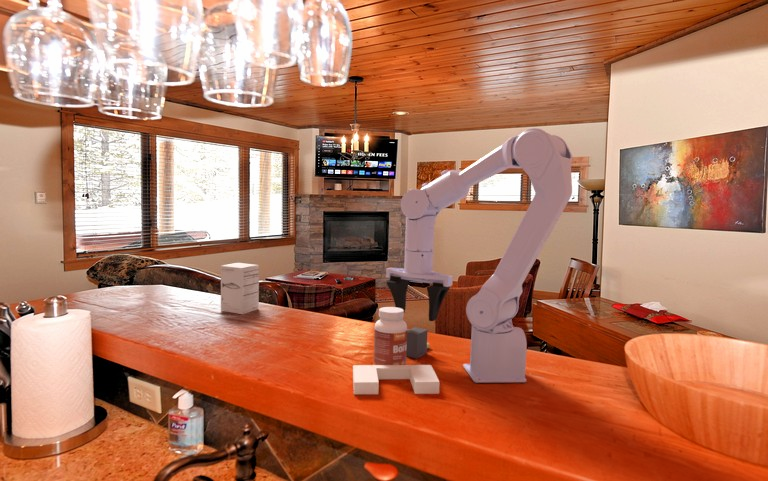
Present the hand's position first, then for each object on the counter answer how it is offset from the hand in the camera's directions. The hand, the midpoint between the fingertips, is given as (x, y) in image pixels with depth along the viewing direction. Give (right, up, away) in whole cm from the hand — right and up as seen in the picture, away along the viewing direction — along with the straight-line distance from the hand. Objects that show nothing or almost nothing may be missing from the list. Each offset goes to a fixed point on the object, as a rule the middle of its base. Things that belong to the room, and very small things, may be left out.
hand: (416, 316), depth 92 cm
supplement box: (-46, -4, +32) cm, 56 cm away
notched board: (-5, -9, -15) cm, 18 cm away
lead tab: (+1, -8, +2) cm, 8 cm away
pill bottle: (-6, -9, -7) cm, 12 cm away
